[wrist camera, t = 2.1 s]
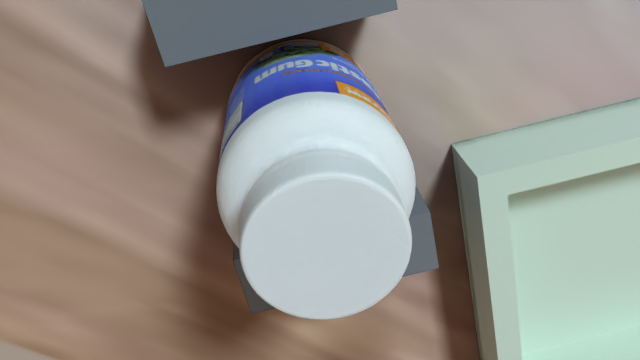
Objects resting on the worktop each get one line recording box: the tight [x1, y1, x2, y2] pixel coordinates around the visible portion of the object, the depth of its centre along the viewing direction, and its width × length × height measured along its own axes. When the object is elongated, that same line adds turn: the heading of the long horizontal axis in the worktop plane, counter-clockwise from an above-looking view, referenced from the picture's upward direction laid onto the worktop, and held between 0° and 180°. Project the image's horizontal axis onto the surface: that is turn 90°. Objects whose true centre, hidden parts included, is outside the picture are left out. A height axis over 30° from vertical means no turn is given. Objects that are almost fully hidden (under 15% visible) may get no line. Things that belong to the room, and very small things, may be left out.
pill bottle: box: [216, 39, 416, 320], centre depth 18 cm, size 5×5×10 cm
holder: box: [142, 0, 439, 314], centre depth 20 cm, size 12×7×4 cm, turn 13°
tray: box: [452, 98, 640, 360], centre depth 25 cm, size 12×12×3 cm
